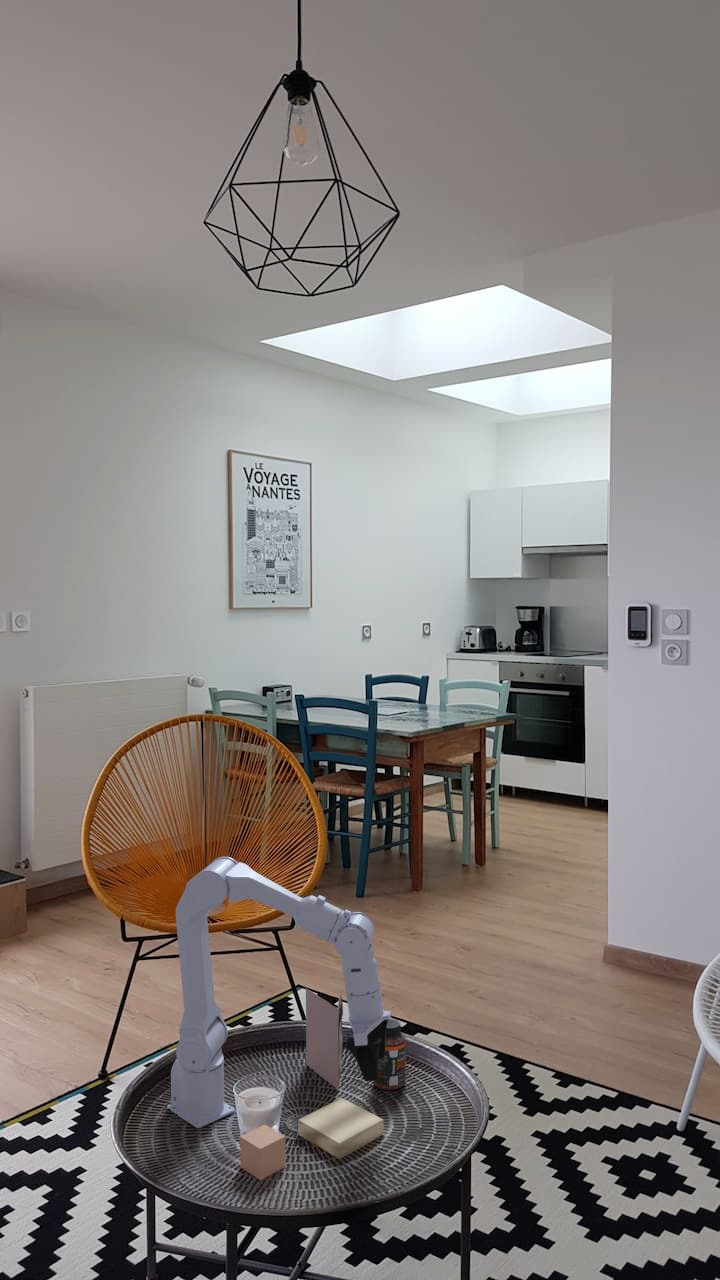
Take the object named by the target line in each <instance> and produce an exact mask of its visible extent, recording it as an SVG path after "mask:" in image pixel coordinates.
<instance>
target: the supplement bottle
mask: <svg viewBox="0 0 720 1280" xmlns="http://www.w3.org/2000/svg"><path fill="white" fill-rule="evenodd" d="M406 1041H407V1040H406V1036H405V1034H404V1032H403V1033H402V1032H401V1022H400V1021H399V1020H397V1019H392V1018H390V1019H388V1023H387V1028H386V1040H385V1056H384V1059H378V1079H377V1080H376V1081H373V1083H374V1085H375V1086H376V1087H377V1088H378V1089H381V1090H386V1091H395V1090H399V1089H401V1088H402V1086H403V1085H404V1086H405V1085H406V1079H407V1078H406V1077H407V1075H406V1073H407V1072H406V1069H407V1067H406V1061H407V1060H406V1059H407V1058H406V1054H407V1051H406V1050H407V1049H406V1048H407V1045H406ZM404 1086H403V1087H404Z"/></svg>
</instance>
